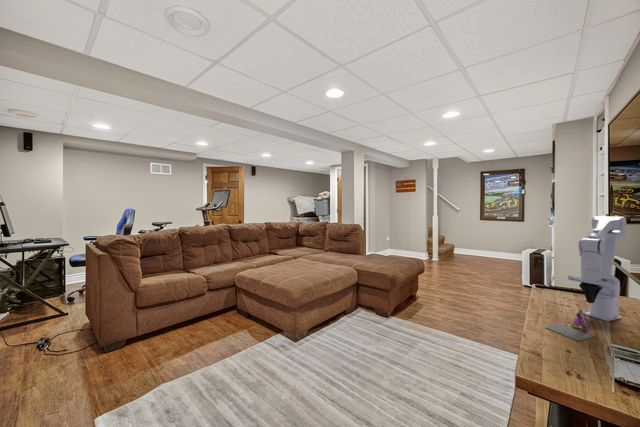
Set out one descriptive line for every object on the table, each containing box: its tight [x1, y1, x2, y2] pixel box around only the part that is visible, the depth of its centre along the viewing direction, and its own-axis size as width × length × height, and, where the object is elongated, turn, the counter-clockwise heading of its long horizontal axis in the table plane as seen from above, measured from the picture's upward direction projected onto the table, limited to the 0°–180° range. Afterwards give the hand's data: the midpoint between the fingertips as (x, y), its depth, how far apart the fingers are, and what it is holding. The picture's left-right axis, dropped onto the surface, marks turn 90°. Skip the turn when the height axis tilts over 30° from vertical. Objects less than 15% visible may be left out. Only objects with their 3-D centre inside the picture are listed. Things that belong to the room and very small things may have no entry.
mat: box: [544, 323, 596, 342], centre depth 103 cm, size 9×11×1 cm
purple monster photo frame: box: [571, 308, 592, 333], centre depth 106 cm, size 7×5×9 cm
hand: (590, 302), depth 107 cm, fingers closed
